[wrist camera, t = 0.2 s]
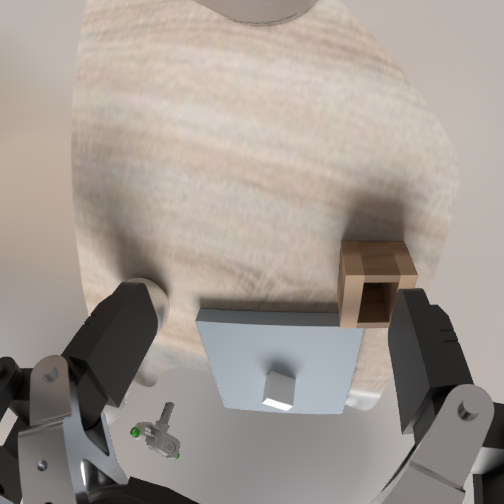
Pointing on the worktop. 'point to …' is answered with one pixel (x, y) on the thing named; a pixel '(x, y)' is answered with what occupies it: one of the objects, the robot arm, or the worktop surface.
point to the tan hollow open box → (372, 270)
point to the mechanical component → (159, 435)
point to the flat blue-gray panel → (280, 359)
